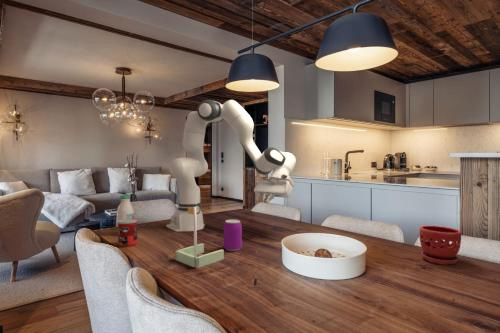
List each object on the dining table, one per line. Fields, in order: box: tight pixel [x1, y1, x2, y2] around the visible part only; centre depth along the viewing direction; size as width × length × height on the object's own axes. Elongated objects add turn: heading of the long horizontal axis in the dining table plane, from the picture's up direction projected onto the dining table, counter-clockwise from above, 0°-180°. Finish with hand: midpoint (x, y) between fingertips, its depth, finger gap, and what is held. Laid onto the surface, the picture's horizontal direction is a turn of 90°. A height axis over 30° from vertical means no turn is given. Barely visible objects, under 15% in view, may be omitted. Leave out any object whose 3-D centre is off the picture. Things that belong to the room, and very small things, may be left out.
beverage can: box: [223, 218, 243, 252], centre depth 130 cm, size 8×8×12 cm
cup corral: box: [174, 207, 225, 269], centre depth 117 cm, size 13×13×22 cm
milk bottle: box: [117, 194, 135, 222], centre depth 156 cm, size 8×8×20 cm
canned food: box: [117, 218, 138, 248], centre depth 137 cm, size 8×8×11 cm
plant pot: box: [419, 225, 462, 265], centre depth 113 cm, size 13×13×12 cm
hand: (265, 202), depth 145 cm, fingers closed
